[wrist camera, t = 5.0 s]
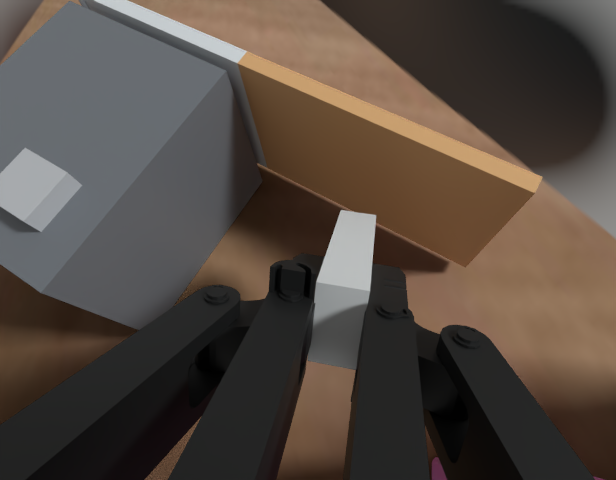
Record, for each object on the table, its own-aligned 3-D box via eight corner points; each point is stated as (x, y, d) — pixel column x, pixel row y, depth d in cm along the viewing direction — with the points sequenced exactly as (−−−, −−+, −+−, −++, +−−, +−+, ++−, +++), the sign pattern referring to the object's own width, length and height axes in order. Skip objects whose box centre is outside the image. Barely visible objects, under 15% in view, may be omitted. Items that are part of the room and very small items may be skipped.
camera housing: (262, 181, 28) (220, 53, 18) (152, 335, 25) (21, 285, 14) (138, 117, 31) (40, -26, 21) (23, 248, 27) (-164, 154, 17)
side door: (471, 254, 24) (543, 175, 16) (464, 268, 24) (533, 195, 15) (152, 97, 30) (82, -21, 22) (144, 107, 30) (69, -9, 21)
